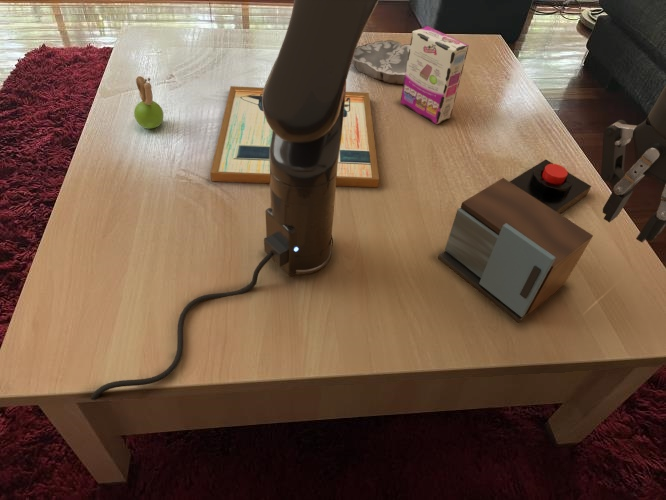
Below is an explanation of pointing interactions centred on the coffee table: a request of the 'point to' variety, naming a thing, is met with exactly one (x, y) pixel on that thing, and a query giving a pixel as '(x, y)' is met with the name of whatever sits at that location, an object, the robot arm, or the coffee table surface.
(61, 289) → the coffee table surface
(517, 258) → the gray sliding door
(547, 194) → the button box
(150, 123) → the snail figurine
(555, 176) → the button
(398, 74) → the grey flat irregular slab
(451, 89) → the candy bar box
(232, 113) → the picture frame
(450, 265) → the cabinet
